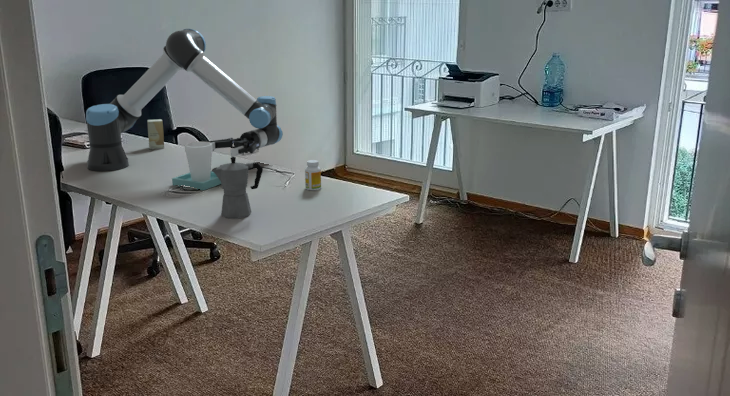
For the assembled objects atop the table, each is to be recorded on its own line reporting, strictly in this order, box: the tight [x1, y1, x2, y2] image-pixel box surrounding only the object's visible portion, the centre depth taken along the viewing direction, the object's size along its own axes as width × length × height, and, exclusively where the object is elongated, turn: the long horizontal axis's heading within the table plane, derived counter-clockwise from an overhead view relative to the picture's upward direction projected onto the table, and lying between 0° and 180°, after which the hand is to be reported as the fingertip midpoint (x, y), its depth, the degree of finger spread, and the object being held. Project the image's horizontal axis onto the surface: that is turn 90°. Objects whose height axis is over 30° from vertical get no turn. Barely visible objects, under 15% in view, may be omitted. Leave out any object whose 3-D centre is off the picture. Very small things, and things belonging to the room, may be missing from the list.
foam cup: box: [184, 141, 213, 182], centre depth 241 cm, size 10×9×13 cm
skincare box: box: [147, 118, 165, 150], centre depth 295 cm, size 6×4×12 cm
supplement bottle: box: [304, 159, 322, 191], centre depth 235 cm, size 5×5×10 cm
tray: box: [171, 170, 221, 191], centre depth 243 cm, size 14×14×2 cm
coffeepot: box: [211, 156, 264, 220], centre depth 207 cm, size 15×9×18 cm, turn 111°
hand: (216, 151), depth 248 cm, fingers open, 13 cm apart
